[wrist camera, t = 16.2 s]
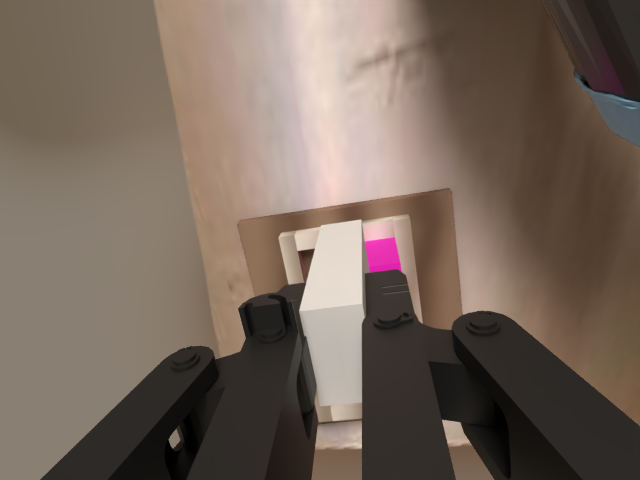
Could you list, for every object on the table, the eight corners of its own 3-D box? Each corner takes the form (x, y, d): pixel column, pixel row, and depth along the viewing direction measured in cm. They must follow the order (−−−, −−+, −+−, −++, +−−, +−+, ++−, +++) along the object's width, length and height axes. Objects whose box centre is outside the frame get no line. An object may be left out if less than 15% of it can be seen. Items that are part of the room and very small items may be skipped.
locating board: (449, 188, 42) (454, 195, 40) (468, 402, 50) (474, 420, 48) (240, 220, 45) (232, 229, 43) (288, 419, 53) (285, 436, 50)
